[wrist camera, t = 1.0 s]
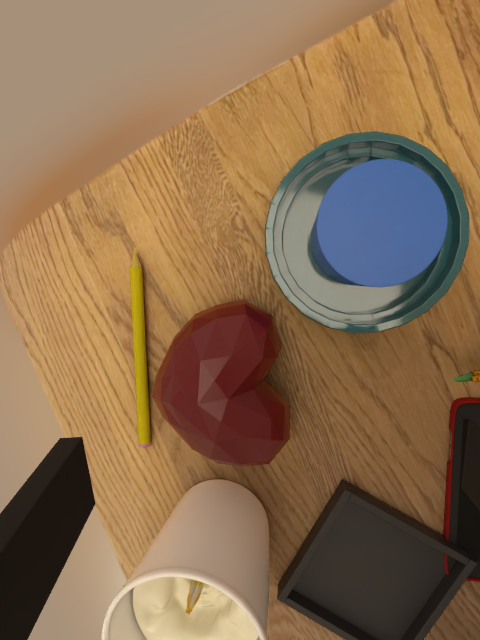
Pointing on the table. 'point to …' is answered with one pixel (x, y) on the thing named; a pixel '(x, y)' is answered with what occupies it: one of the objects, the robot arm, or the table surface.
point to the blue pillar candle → (379, 224)
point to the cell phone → (460, 512)
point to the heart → (225, 386)
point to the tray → (372, 571)
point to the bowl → (297, 222)
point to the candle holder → (200, 572)
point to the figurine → (469, 377)
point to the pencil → (140, 352)
